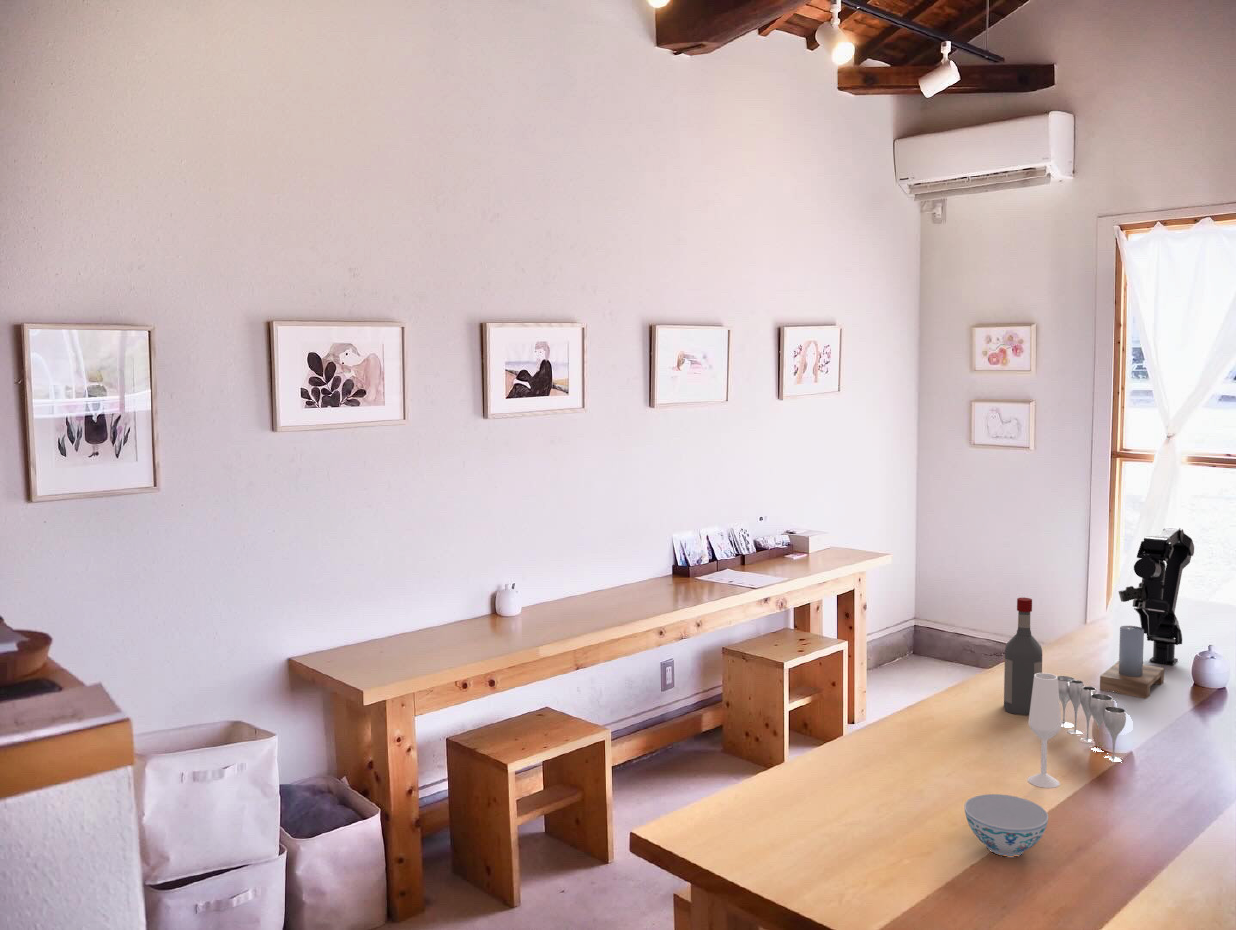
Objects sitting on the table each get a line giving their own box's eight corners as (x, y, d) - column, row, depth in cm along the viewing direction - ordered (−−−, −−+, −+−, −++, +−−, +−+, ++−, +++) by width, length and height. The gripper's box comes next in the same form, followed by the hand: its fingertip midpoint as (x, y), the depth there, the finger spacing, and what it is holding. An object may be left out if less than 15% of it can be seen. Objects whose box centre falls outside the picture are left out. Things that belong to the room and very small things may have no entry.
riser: (1118, 674, 300) (1118, 660, 299) (1163, 681, 292) (1164, 668, 291) (1099, 689, 286) (1100, 676, 286) (1146, 698, 278) (1147, 684, 278)
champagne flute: (1058, 777, 228) (1061, 672, 226) (1061, 789, 222) (1063, 682, 220) (1026, 774, 231) (1028, 670, 228) (1027, 786, 224) (1030, 679, 222)
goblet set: (1131, 762, 236) (1132, 707, 234) (1106, 764, 235) (1108, 708, 234) (1068, 720, 264) (1070, 670, 262) (1047, 721, 263) (1048, 671, 262)
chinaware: (951, 833, 203) (951, 796, 202) (1023, 829, 204) (1024, 792, 203) (984, 871, 188) (985, 831, 187) (1062, 866, 189) (1063, 826, 189)
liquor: (1003, 713, 269) (1005, 601, 266) (1004, 702, 278) (1006, 594, 274) (1041, 717, 266) (1043, 604, 263) (1040, 706, 274) (1043, 596, 271)
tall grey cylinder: (1116, 670, 291) (1117, 625, 289) (1139, 671, 289) (1140, 626, 288) (1121, 676, 285) (1122, 630, 283) (1145, 677, 283) (1146, 631, 282)
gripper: (1116, 576, 308) (1111, 628, 307) (1128, 576, 290) (1123, 631, 289) (1157, 582, 305) (1152, 634, 304) (1172, 582, 287) (1166, 637, 286)
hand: (1147, 634), depth 296 cm, fingers open, 9 cm apart
